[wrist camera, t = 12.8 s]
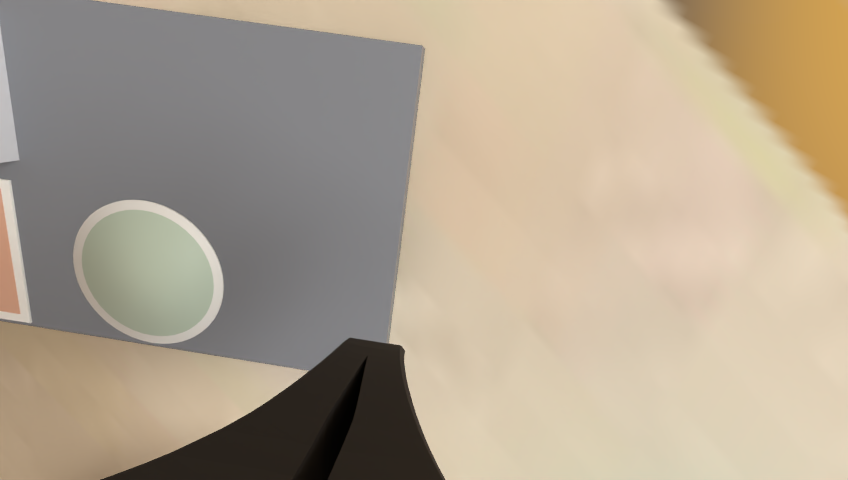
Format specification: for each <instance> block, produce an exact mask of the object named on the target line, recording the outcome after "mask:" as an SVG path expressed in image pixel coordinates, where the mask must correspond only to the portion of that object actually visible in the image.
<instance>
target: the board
mask: <svg viewBox="0 0 848 480" xmlns="http://www.w3.org/2000/svg"><path fill="white" fill-rule="evenodd" d="M424 53H425V48H424V47H423V46H421V45H414V44H406V43H399V42H392V41H384V40H377V39H370V38H362V37H355V36H348V35H341V34H333V33H326V32H319V31H311V30H304V29H297V28H289V27H282V26H275V25H268V24H260V23H253V22H246V21H238V20H231V19H224V18H216V17H209V16H202V15H194V14H187V13H180V12H173V11H165V10H158V9H151V8H143V7H136V6H129V5H121V4H114V3H107V2H99V1H92V0H0V321H5V322H11V323H17V324H23V325H29V326H36V327H42V328H48V329H54V330H60V331H67V332H73V333H79V334H85V335H91V336H98V337H104V338H110V339H116V340H122V341H129V342H135V343H141V344H147V345H153V346H160V347H166V348H172V349H178V350H184V351H191V352H197V353H203V354H209V355H215V356H222V357H228V358H234V359H240V360H246V361H253V362H259V363H265V364H271V365H277V366H284V367H290V368H296V369H302V370H308V371H310V370H311V369H312V368H314V367H315V366H316V365H317V364H319V363H320V362H321V361H322V360H323V359H325V358H326V357H327V356H328V355H329V354H330V353H332V352H333V351H334V350H335V349H336V348H337V347H338V346H339V345H341V344H342V343H343V342H344V341H345V340H347V339H348V338H356V339H363V340H369V341H375V342H381V343H388V344H389V336H390V328H391V320H392V312H393V304H394V296H395V288H396V280H397V272H398V263H399V255H400V247H401V239H402V231H403V223H404V215H405V207H406V199H407V191H408V183H409V175H410V166H411V158H412V150H413V142H414V134H415V126H416V118H417V110H418V102H419V94H420V86H421V78H422V69H423V61H424Z"/></svg>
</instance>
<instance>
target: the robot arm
mask: <svg viewBox="0 0 848 480" xmlns="http://www.w3.org/2000/svg"><path fill="white" fill-rule="evenodd" d="M404 354H405V350H404V349H403V348H402V346H400V345H394V344H388V343H381V342H375V341H369V340H363V339H356V338H348V339H347V340H345V341H344V342H343V343H342V344H341V345H339V346H338V347H337V348H336V349H335V350H334V351H333V352H332V353H330V354H329V355H328V356H327V357H326V358H325V359H323V360H322V361H321V362H320V363H319V364H317V365H316V366H315V367H314V368H312V369H311V370H310V371H309V372H307V373H306V374H305V375H304V376H302V377H301V378H300V379H299V380H297V381H296V382H295V383H293V384H292V385H291V386H289V387H288V388H286V389H285V390H283V391H282V392H281V393H279V394H278V395H276V396H275V397H273V398H272V399H271V400H269V401H268V402H266V403H265V404H263V405H262V406H260V407H259V408H257V409H255V410H254V411H252V412H251V413H249V414H247V415H245V416H244V417H242V418H240V419H238V420H237V421H235V422H233V423H231V424H229V425H228V426H226V427H224V428H222V429H220V430H218V431H216V432H214V433H212V434H210V435H207V436H205V437H203V438H201V439H199V440H197V441H195V442H193V443H191V444H189V445H186V446H184V447H182V448H180V449H178V450H176V451H174V452H171V453H169V454H167V455H164V456H162V457H159V458H157V459H154V460H152V461H149V462H147V463H145V464H142V465H139V466H137V467H134V468H131V469H129V470H126V471H123V472H121V473H118V474H115V475H113V476H110V477H107V478H104V479H101V480H445V478H444V476H443V475H442V473H441V471H440V469H439V467H438V465H437V463H436V461H435V459H434V457H433V455H432V453H431V451H430V448H429V446H428V444H427V442H426V439H425V437H424V434H423V432H422V429H421V427H420V424H419V421H418V418H417V416H416V413H415V409H414V406H413V403H412V399H411V396H410V392H409V388H408V384H407V379H406V373H405V366H404Z"/></svg>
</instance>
